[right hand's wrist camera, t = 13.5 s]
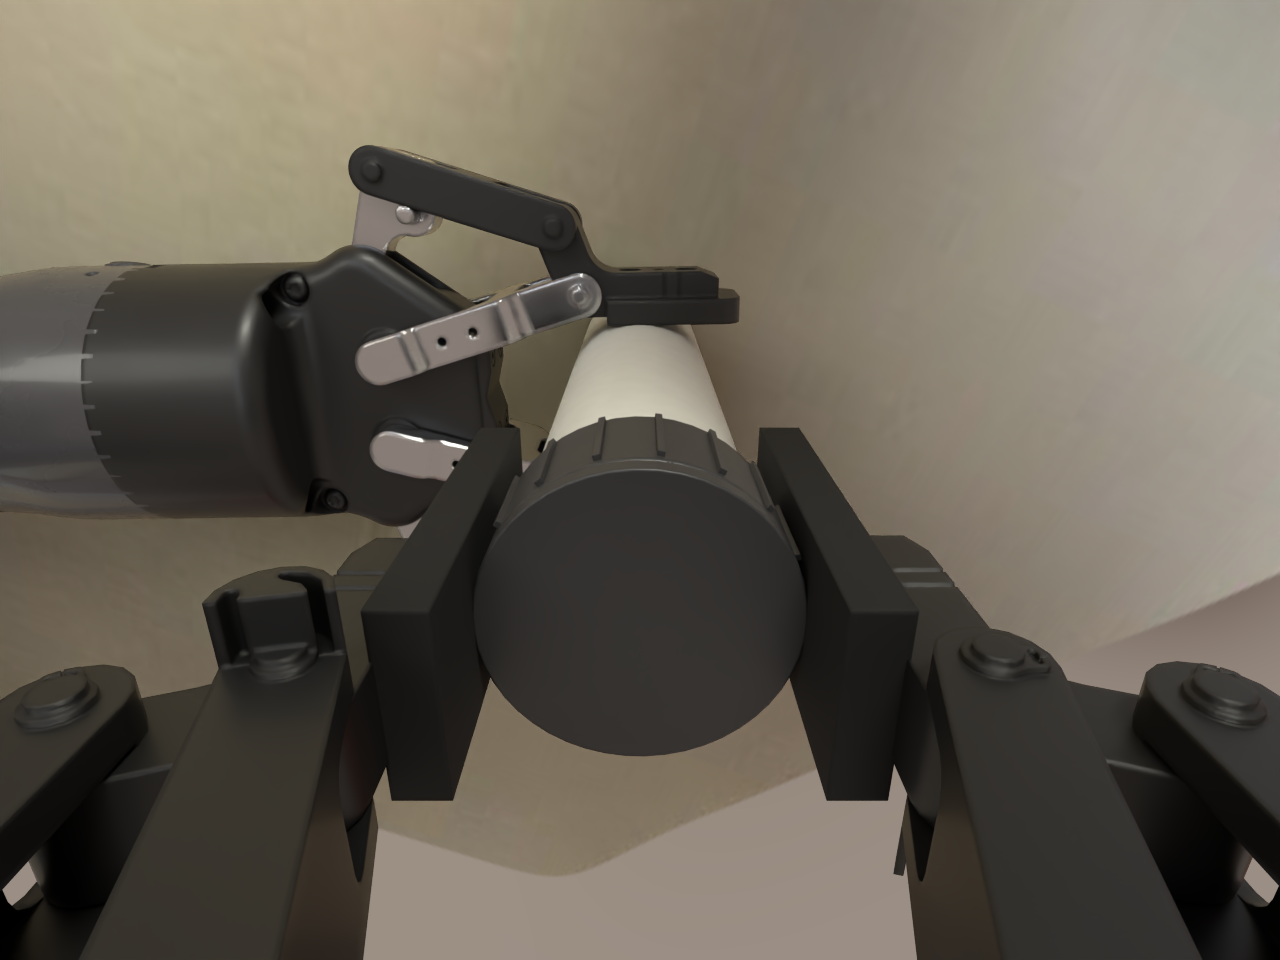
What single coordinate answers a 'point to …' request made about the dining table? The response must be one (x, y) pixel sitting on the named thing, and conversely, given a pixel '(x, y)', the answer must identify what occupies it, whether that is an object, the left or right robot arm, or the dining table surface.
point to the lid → (640, 589)
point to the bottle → (639, 379)
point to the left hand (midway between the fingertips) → (730, 385)
